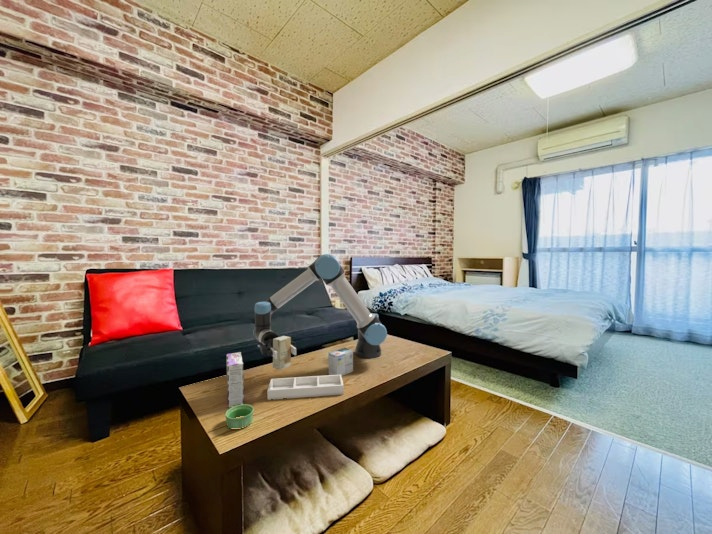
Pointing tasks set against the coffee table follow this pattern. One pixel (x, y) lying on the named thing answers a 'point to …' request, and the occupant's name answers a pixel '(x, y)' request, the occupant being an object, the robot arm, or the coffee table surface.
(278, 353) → the skincare box
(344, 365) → the light bulb box
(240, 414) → the ramekin
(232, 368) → the candy box
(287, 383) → the compartment tray
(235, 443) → the coffee table surface
